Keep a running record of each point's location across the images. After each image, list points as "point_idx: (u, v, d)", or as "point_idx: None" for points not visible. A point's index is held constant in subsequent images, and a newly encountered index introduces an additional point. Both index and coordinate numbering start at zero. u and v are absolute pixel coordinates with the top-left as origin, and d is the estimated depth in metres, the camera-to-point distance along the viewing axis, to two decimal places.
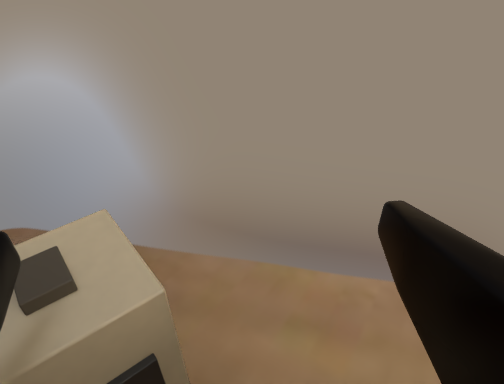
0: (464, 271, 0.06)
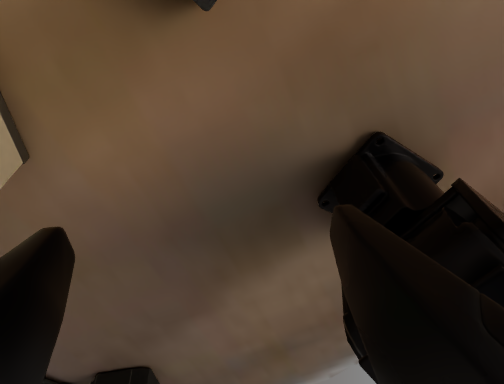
0: (393, 278, 0.06)
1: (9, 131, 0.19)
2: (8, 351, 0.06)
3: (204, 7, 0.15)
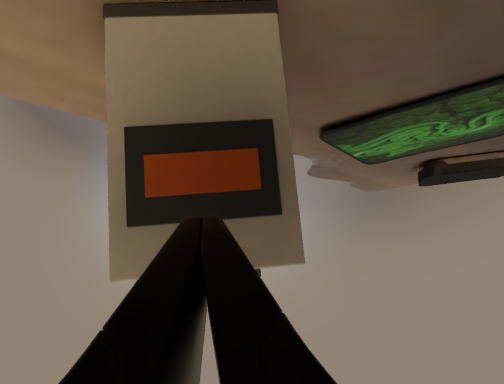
0: (206, 295, 0.06)
1: (239, 13, 0.18)
2: (191, 333, 0.06)
3: None
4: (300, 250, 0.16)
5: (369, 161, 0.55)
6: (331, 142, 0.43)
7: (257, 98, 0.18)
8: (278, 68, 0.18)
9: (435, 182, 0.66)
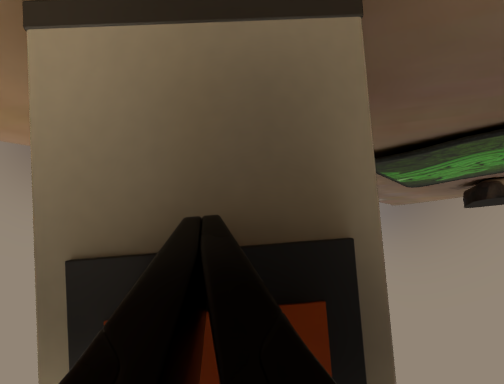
0: (205, 295, 0.06)
1: (289, 18, 0.09)
2: (191, 333, 0.06)
3: None
4: None
5: (413, 184, 0.45)
6: (377, 170, 0.33)
7: (323, 192, 0.09)
8: (363, 130, 0.09)
9: (485, 204, 0.56)
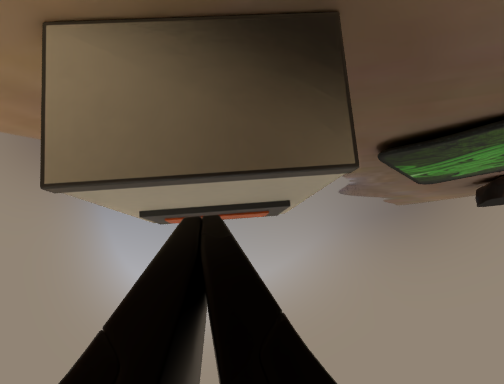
0: (206, 295, 0.06)
1: (285, 176, 0.11)
2: (191, 333, 0.06)
3: None
4: (284, 212, 0.23)
5: (426, 181, 0.42)
6: (391, 163, 0.30)
7: (281, 197, 0.16)
8: (317, 189, 0.14)
9: (499, 203, 0.53)
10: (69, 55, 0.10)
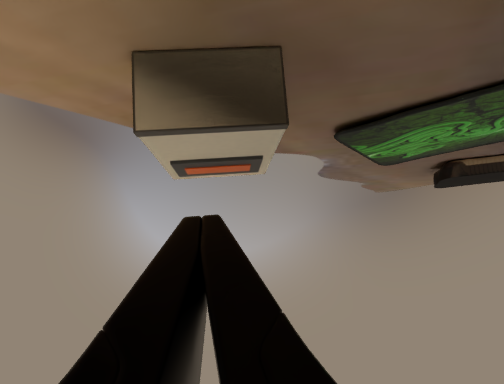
0: (205, 295, 0.06)
1: (253, 130, 0.21)
2: (191, 333, 0.06)
3: None
4: (264, 172, 0.34)
5: (384, 162, 0.52)
6: (346, 142, 0.40)
7: (256, 151, 0.26)
8: (275, 144, 0.25)
9: (452, 184, 0.63)
10: (145, 68, 0.21)
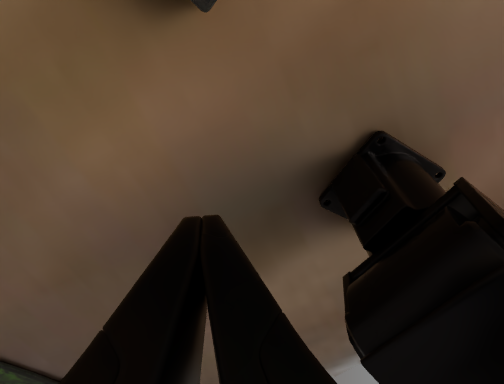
0: (206, 295, 0.06)
1: None
2: (191, 333, 0.06)
3: (203, 8, 0.15)
4: None
5: None
6: None
7: None
8: None
9: None
10: None
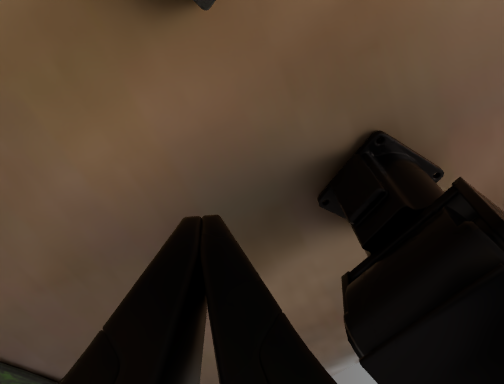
0: (206, 295, 0.06)
1: None
2: (191, 333, 0.06)
3: (203, 6, 0.15)
4: None
5: None
6: None
7: None
8: None
9: None
10: None
